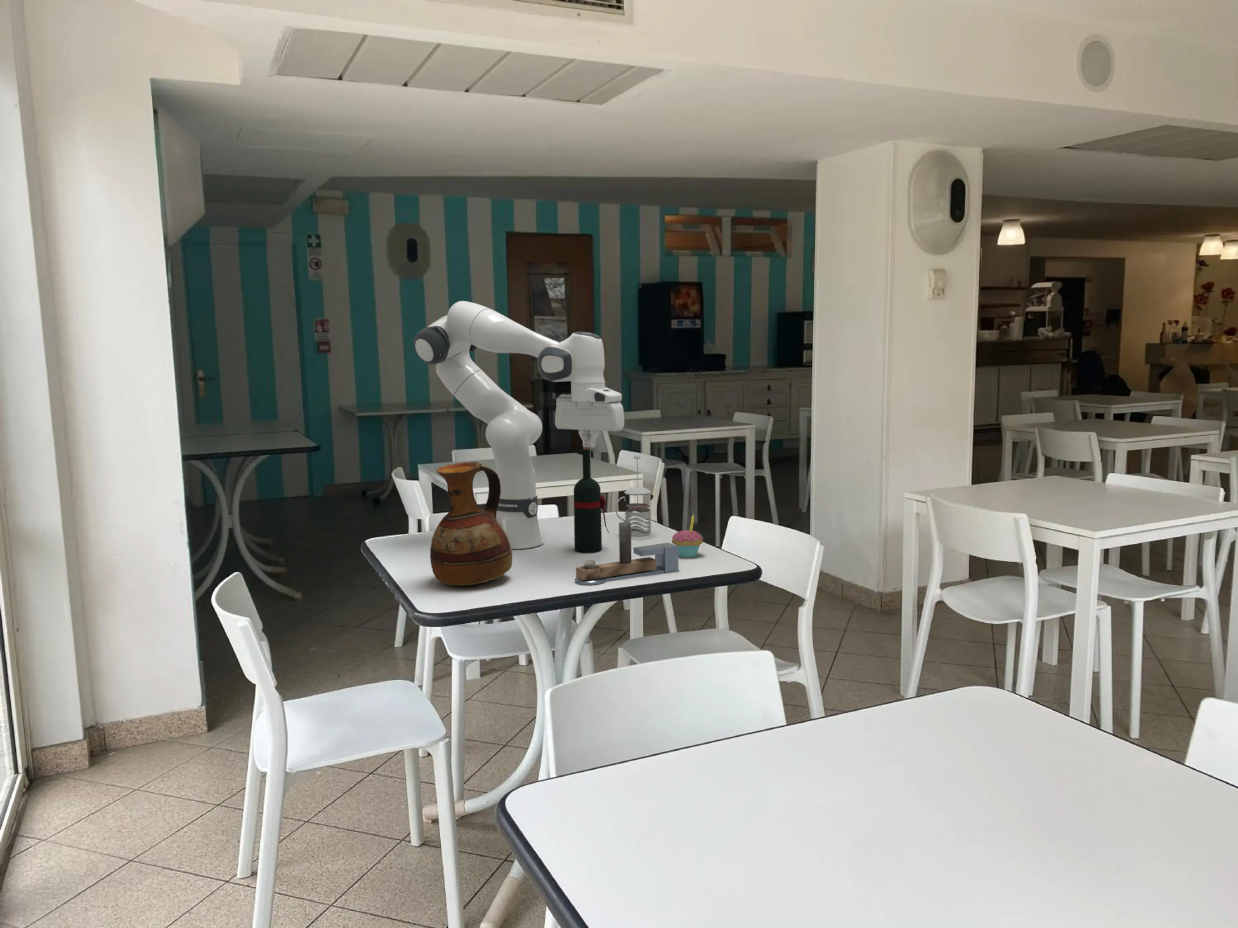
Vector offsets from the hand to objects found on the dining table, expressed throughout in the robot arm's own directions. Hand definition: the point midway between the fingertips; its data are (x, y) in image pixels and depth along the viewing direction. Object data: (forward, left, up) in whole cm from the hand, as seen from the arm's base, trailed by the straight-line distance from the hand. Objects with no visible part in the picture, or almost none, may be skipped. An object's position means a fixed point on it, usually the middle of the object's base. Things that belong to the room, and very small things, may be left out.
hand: (589, 447), depth 244 cm
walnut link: (+14, -9, -30) cm, 35 cm away
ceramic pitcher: (-15, -30, -31) cm, 46 cm away
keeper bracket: (+16, -7, -31) cm, 36 cm away
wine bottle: (-9, +13, -31) cm, 35 cm away
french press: (-8, +34, -31) cm, 47 cm away
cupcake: (+18, +20, -31) cm, 41 cm away
